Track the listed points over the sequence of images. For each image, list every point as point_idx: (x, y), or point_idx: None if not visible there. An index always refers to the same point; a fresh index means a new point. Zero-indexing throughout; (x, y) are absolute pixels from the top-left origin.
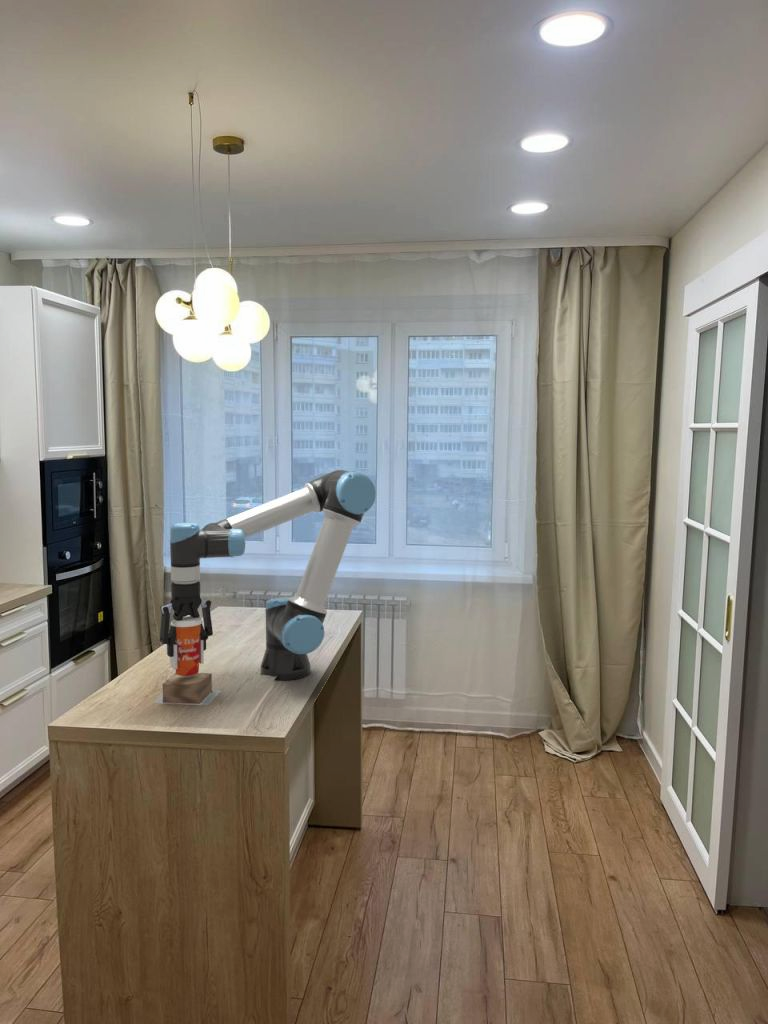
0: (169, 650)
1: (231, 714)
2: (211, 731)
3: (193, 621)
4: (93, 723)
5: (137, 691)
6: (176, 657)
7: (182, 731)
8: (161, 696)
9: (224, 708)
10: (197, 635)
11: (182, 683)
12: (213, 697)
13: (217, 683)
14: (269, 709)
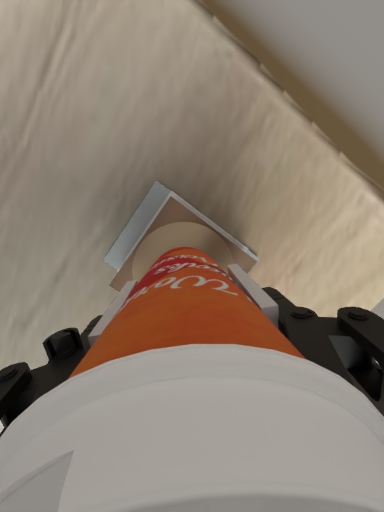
0: (287, 300)
1: (116, 116)
2: (193, 24)
3: (126, 472)
4: (377, 227)
5: None
6: (242, 280)
7: (251, 70)
8: None
9: (122, 167)
10: (123, 314)
11: (210, 236)
12: (131, 224)
13: None
14: (15, 94)
